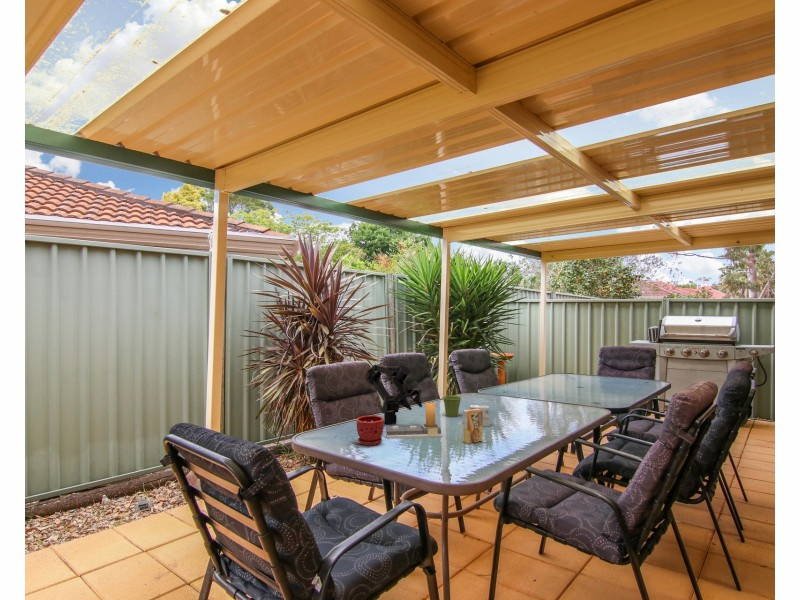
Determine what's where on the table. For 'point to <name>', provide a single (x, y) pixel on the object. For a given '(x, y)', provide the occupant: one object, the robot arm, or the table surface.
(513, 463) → the table surface
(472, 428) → the candy box
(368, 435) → the plant pot
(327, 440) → the table surface
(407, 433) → the breaker panel
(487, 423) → the light bulb box
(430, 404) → the cap
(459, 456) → the table surface
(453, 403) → the plant pot
